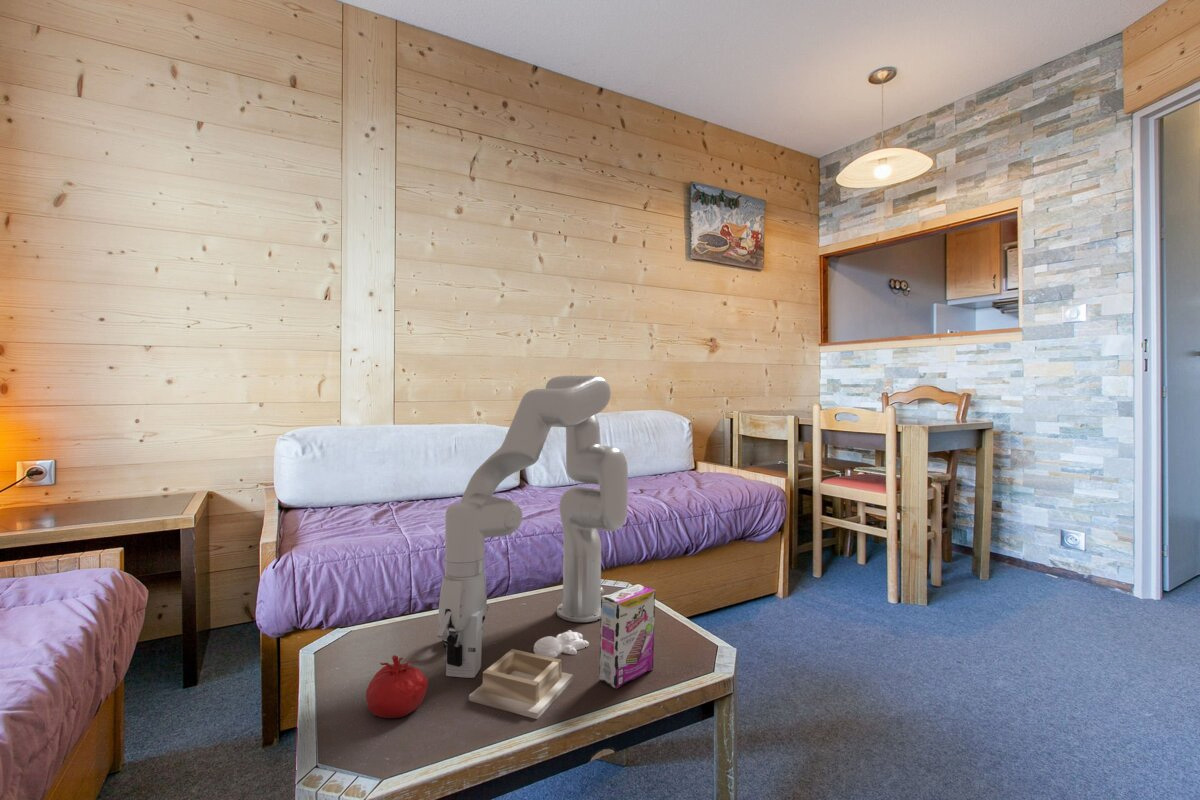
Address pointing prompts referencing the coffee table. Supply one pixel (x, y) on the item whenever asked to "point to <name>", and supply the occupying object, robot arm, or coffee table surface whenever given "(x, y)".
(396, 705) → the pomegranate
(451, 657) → the robot arm
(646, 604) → the candy bar box
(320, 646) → the coffee table surface
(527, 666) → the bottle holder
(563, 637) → the astronaut figurine
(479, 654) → the skincare box
